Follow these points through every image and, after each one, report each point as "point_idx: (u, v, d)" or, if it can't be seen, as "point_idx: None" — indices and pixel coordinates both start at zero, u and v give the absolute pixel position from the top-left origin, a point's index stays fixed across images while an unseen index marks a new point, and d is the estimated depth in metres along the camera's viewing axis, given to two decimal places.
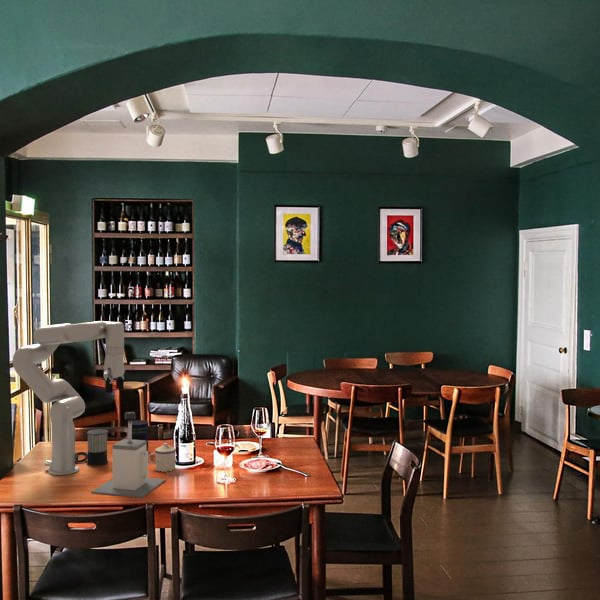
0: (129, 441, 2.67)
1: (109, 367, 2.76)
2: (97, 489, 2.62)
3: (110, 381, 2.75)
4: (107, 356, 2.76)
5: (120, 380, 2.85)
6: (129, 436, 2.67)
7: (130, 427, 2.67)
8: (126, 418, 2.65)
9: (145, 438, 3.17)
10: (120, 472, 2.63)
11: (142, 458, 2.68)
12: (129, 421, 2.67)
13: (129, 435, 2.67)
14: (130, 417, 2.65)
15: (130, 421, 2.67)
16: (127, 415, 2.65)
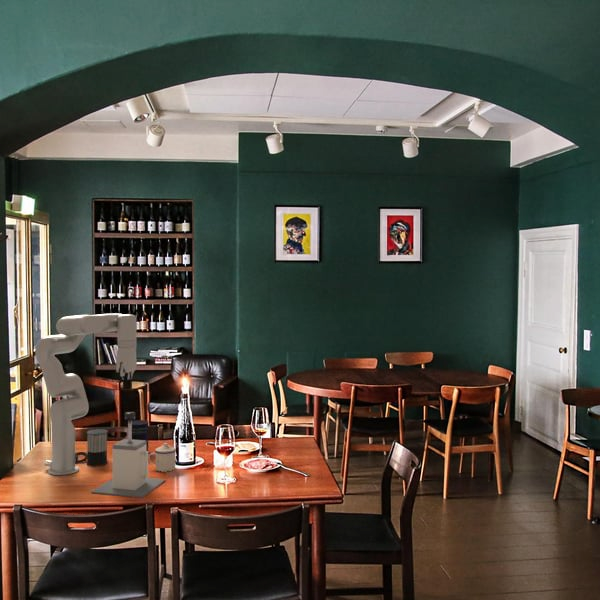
0: (129, 441, 2.67)
1: (122, 361, 2.65)
2: (97, 489, 2.62)
3: (128, 378, 2.68)
4: (119, 350, 2.65)
5: None
6: (129, 436, 2.67)
7: (130, 427, 2.67)
8: (126, 418, 2.65)
9: (145, 438, 3.17)
10: (120, 472, 2.63)
11: (142, 458, 2.68)
12: (129, 421, 2.67)
13: (129, 435, 2.67)
14: (130, 417, 2.65)
15: (130, 421, 2.67)
16: (127, 415, 2.65)
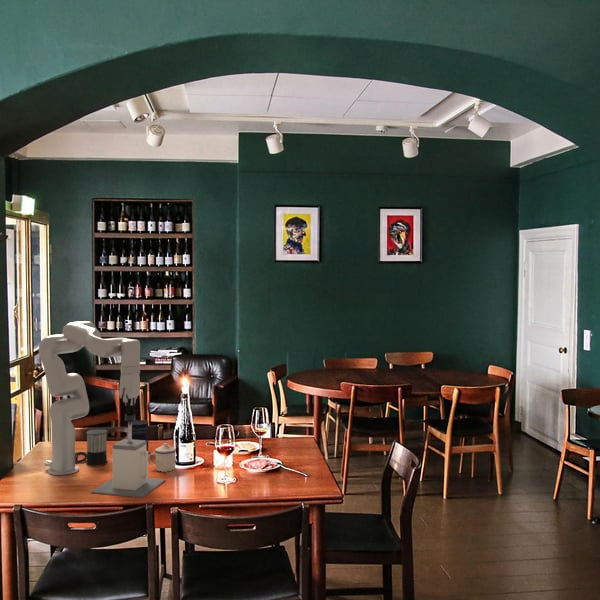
0: None
1: (125, 387, 2.62)
2: (97, 489, 2.62)
3: (131, 404, 2.65)
4: (123, 375, 2.62)
5: None
6: (129, 438, 2.67)
7: (130, 429, 2.67)
8: (126, 420, 2.65)
9: (145, 438, 3.17)
10: (120, 472, 2.63)
11: (142, 458, 2.68)
12: (129, 423, 2.67)
13: (129, 437, 2.67)
14: (130, 419, 2.65)
15: (130, 423, 2.67)
16: (127, 417, 2.65)
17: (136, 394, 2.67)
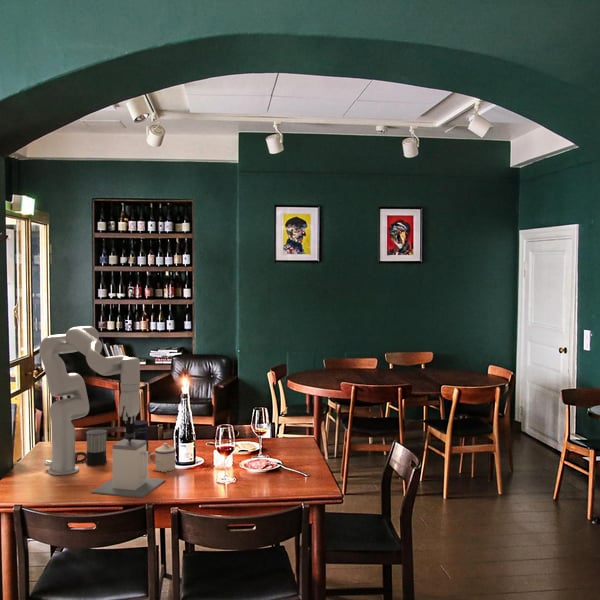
0: None
1: (125, 405, 2.62)
2: (97, 489, 2.62)
3: (131, 422, 2.65)
4: (122, 394, 2.62)
5: None
6: None
7: None
8: (126, 438, 2.66)
9: (145, 438, 3.17)
10: (120, 472, 2.63)
11: (142, 458, 2.68)
12: (129, 441, 2.67)
13: None
14: (130, 437, 2.66)
15: (130, 441, 2.67)
16: (127, 435, 2.65)
17: (136, 412, 2.68)
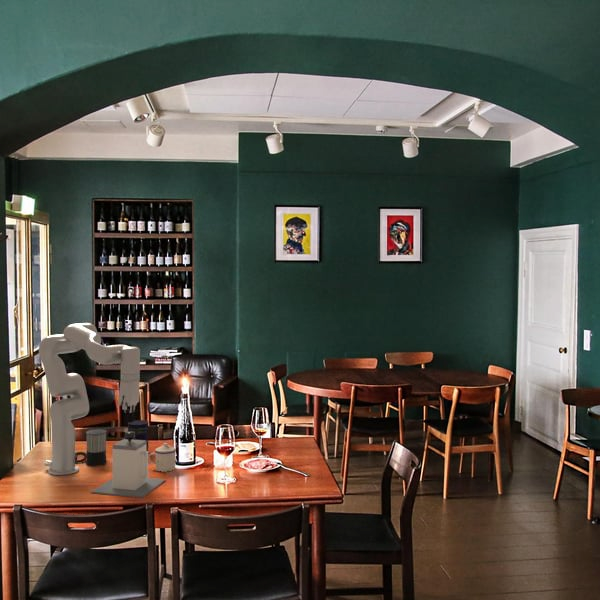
0: None
1: (124, 395, 2.62)
2: (97, 489, 2.62)
3: (130, 412, 2.65)
4: (122, 383, 2.62)
5: None
6: None
7: None
8: (126, 438, 2.66)
9: (145, 438, 3.17)
10: (120, 472, 2.63)
11: (142, 458, 2.68)
12: (129, 441, 2.67)
13: None
14: (130, 437, 2.66)
15: (130, 441, 2.67)
16: (127, 435, 2.65)
17: (135, 401, 2.68)
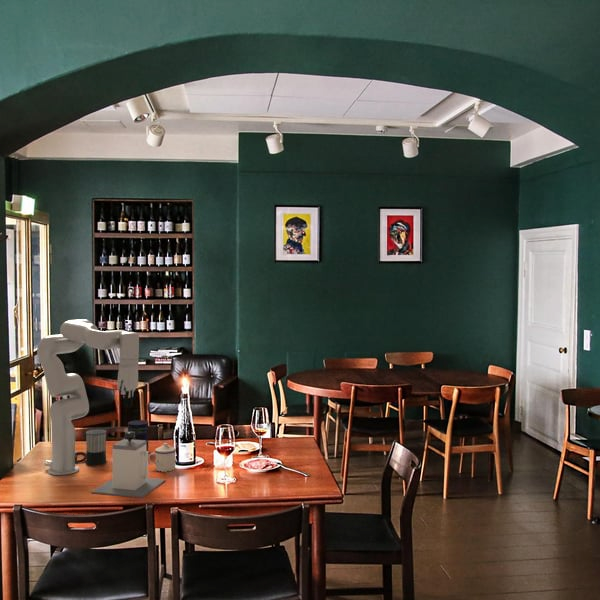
0: None
1: (123, 379, 2.63)
2: (97, 489, 2.62)
3: (128, 396, 2.66)
4: (121, 368, 2.63)
5: None
6: None
7: None
8: (126, 438, 2.66)
9: (145, 438, 3.17)
10: (120, 472, 2.63)
11: (142, 458, 2.68)
12: (129, 441, 2.67)
13: None
14: (130, 437, 2.66)
15: (130, 441, 2.67)
16: (127, 435, 2.65)
17: (134, 386, 2.69)
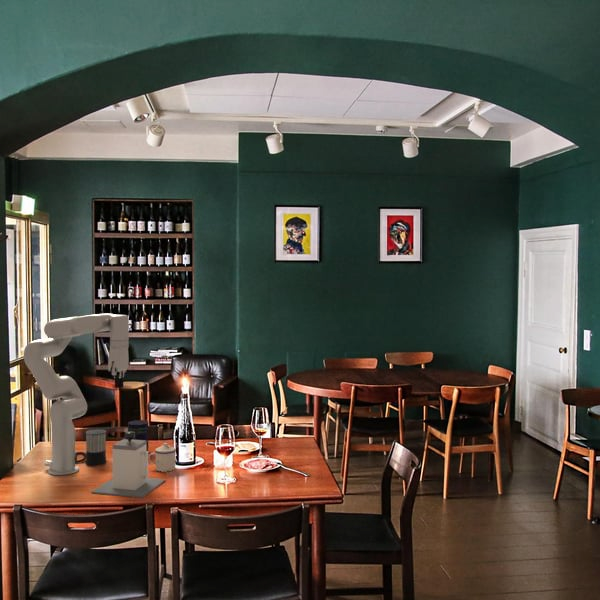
0: None
1: (114, 360, 2.71)
2: (97, 489, 2.62)
3: (119, 377, 2.74)
4: (111, 349, 2.71)
5: None
6: None
7: None
8: (126, 438, 2.66)
9: (145, 438, 3.17)
10: (120, 472, 2.63)
11: (142, 458, 2.68)
12: (129, 441, 2.67)
13: None
14: (130, 437, 2.66)
15: (130, 441, 2.67)
16: (127, 435, 2.65)
17: (125, 368, 2.77)
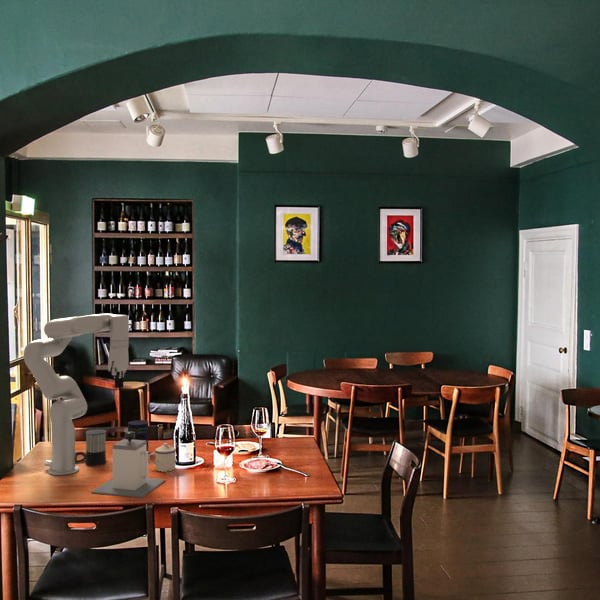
0: None
1: (113, 360, 2.71)
2: (97, 489, 2.62)
3: (119, 377, 2.74)
4: (111, 349, 2.71)
5: None
6: None
7: None
8: (126, 438, 2.66)
9: (145, 438, 3.17)
10: (120, 472, 2.63)
11: (142, 458, 2.68)
12: (129, 441, 2.67)
13: None
14: (130, 437, 2.66)
15: (130, 441, 2.67)
16: (127, 435, 2.65)
17: (125, 368, 2.77)
